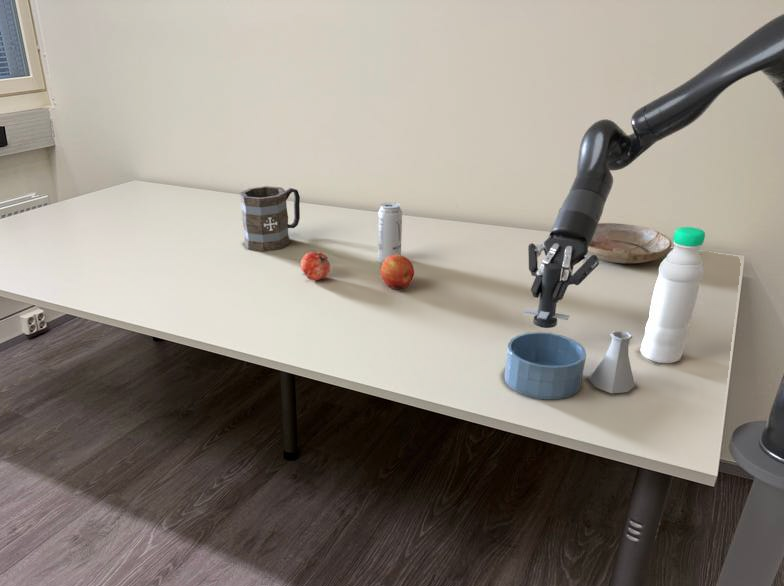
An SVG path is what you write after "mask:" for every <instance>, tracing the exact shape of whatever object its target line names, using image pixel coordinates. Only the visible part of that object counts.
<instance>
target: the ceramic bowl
mask: <svg viewBox="0 0 784 586" xmlns="http://www.w3.org/2000/svg"><path fill="white" fill-rule="evenodd" d="M671 249H672V241H671V239H670V238H669V237H668V236H666V235H665V234H663V233H662V232H660V231H657V230H655V229H651V228H648V227H644V226H639V225H634V224H629V223H628V224H627V223H616V222H615V223H614V222H599V223H598V225H597V228H596V230H595V232H594V235H593V237H592V239H591V242H590V244H589V246H588V253H589V254H591V255H596V256H597V258H598V260H601V261H605V262H610V263H615V264H641V263H648V262H653V261H656V260H658V259H660V258H662V257H664V256H665V255H667V254H668V253H669V252H670V251H671Z"/></svg>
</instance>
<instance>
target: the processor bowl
mask: <svg viewBox="0 0 784 586" xmlns="http://www.w3.org/2000/svg"><path fill="white" fill-rule="evenodd" d="M506 348H507V349H506V356H505V365H504V376H503V377H504V381H505V383H506V385H508V386H509V388H510V389H512V390H513V391H514V392H517V393H519V394H522V395H523V396H526V397H530V398H534V399H539V400H560V399H566V398H569V397H571V396H573V395H575V394H577V392H578V391H579V390H580V388H581V384H582V381H583V376H584V375H583V374H584V371H585V364H586V359H587V352H586V349H585V347H584V346H583V345H582V344H581V343H579V342H578V341H576V340H574V339H572V338H571V337H568V336H565V335H562V334H557V333H552V332H542V331H541V332H540V331H539V332H538V331H536V332H525V333H522V334H518V335H515V336H514V337H513V338H511V339H510V340H509V341H508V343H507V347H506Z"/></svg>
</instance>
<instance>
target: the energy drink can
mask: <svg viewBox="0 0 784 586" xmlns="http://www.w3.org/2000/svg"><path fill="white" fill-rule="evenodd" d="M402 231H403V210H402V209H401V207H400V204H399V203H397V202H385V203H382V204H381V205H380V208H379V209H378V234H377V235H378V242H377V247H378V248H377V250H378V251H377V256H378V257H377V258H378V259H379V261H380V262H381V263H383V261H384V260H385V259H386V258H387V257H389V256H390V255H394V254H397V255H402V233H403V232H402Z"/></svg>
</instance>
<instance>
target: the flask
mask: <svg viewBox="0 0 784 586" xmlns="http://www.w3.org/2000/svg"><path fill="white" fill-rule="evenodd" d="M610 337H611V340H610V345H609V347H608V349H607V352H606V354H605V355H604V356H603V358H602V359H601V361H600V362H599V364H598V365H597V366H596V368H595V370H594V371H593V372H592V373H591V375H590V376H589V378H588V380H589V382H591V384H592V385H593V386H594V387H595V388H596V389H599V390H602V391H604V392H607V393H609V394H622V393H628V392H630V391H631V390H632V389H633V388H634V387H636V384H635V378H634V374H633V370H632V366H631V361H630V355H629V345H630V340H631V339H633V335H632V334H631V333H630V332H628V331H625V330H614V331H612V332H610Z"/></svg>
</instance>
